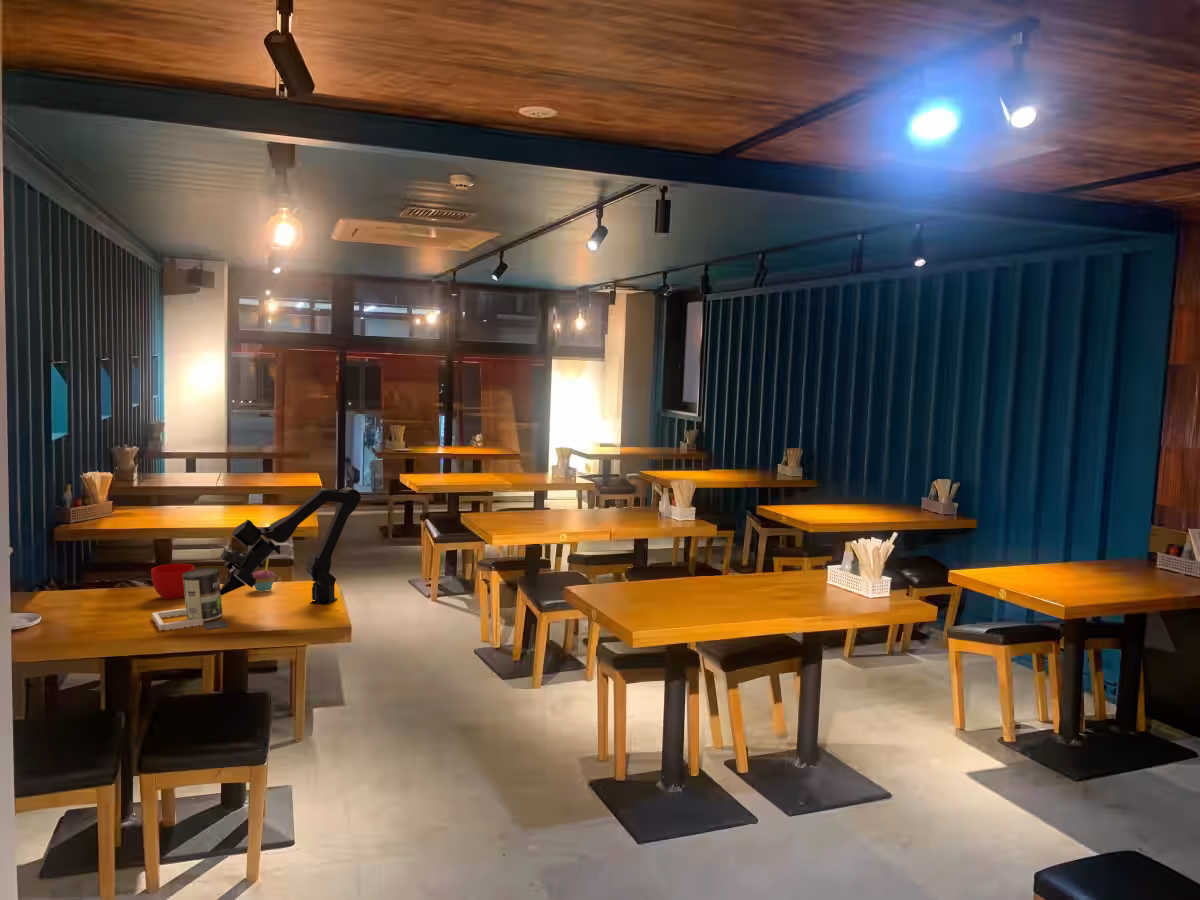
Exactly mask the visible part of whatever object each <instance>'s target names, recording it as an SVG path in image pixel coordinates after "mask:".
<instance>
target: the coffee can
mask: <svg viewBox="0 0 1200 900" xmlns="http://www.w3.org/2000/svg"><path fill="white" fill-rule="evenodd" d="M182 577H183V583H184V593H185V596H184V600H185V602H184V603H185V608H186V613H187V615H186V620H193V619H200V618H203V622H210V621H212V620H213V621H214V620H216V619H219V618H221V617H222V616H223V614H224V613H223V606H222V605H223V604H222V595H221V592H220V590H221V585H220V584H221V583H220V581H221V580H220V569H218V568H210V567H209V568H199V569H194V570H193V571H189V572H186V573H184V574H183V575H182Z"/></svg>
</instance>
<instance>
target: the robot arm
mask: <svg viewBox="0 0 1200 900" xmlns="http://www.w3.org/2000/svg"><path fill="white" fill-rule="evenodd" d="M361 499H362V496H361V493H360V492H359V491H358V490H357V489H355V488H351V487H348V486H347V487H343V488H340V489H335V488H334V489H333V488H320V489H318V490H317V491H316V492H315V493H314V494H313V495H312V496H310V497H309V498H308V499H307V500H306V501H305V502H303V503H302V504H300V505H299V506H298V507H297V508H296V509H295V510H293V511H292V512H291V513H290V514H288V515H287V516H284V517H282V518H279V519H278V520H275V521H273V523H271V524H269V526H266V527H262V528H258V527H257V526H256V525H255V524H254V523H253V522H252V520H250V519H246V520H245V521H244V522H242V523H240V524H239V525H237V526H236V527H235V529H234V530H233V531H232V533H231V536H232V537H233V538H235V539H236V540H237V542H238V541H239V542H240V543H241V544H242V545H243V546H245V547H248V546H250V547H251V548H250V549H249V550H248V551H246V550H245V551H243V552H242V553H241V552H240V551H237V550H235V549H233V550H230V549H227V548H224V549H223V552H222V553H221V556H220V557H219V558H220V559H221V560H222V561H224V562H225V563H224V564H223V565H224V566H225V568H227V569H226V574H227V575H226V579H225V581H224V583H223V584H222V586H221V587H220V592H221V596H224V595H226V594H229V593H230V592H232V591H235V590H237V589H239V588H241V587H245V586H246V585H248V586H249V587H250V588H253V587H255V586H254V585H255V584H256V579H255V578H254V577H253V575H252V574H253V573H254V572H256V571H257V569H258V568H262V567H263V566H264V565H263V563H264V562H266V560H267V559H268V558H269V556H270V555H271V554H272V553H273V552H275V553H276V554H278V555H281V545H280V544H279V543H281V544H282V543H286V541H288V540H289V538H290V537H292V535H293V534H294V533H295V531H296V530H297V528H298V526H299V525H300V524H302V523H303V522H304V521H305V520H306V519H308V518H309V517H310V516H311V515H313V513H315V512H316V511H317V510H318V509H320V507H322V506H324V504H326V503H327V502H330V503H331V502H332V503H335V511H334V513H333V517H332V519H331V521H330V523H329V526H328V528H327V530H326V533H325V535H324V537H323V540H322V541H321V544H320V547H319V549H318V551H317V552H316V553H315V554H311V553H310V554H309V557H308V559H307V562H306V563H305V564H304V565H305V572H306V574H307V576H308V577H310V578H311V580H312V582H313V583H312V587H311V599H312V600H315V601H312V602H318V603H317V604H320V603H325V604H324V605H327V604H326V603H328V604H330V603H329V602H331V603H333V602H335V601H337V600H338V598H337V597H335V595H336V594H335V585H336V581H337V578H336V577H335V576H333V575H332V574H331V572H330V571H331V566H332V556H333V553H334V551H335V549H336V546H337V544H338V542H339V540H340V536H341V535H342V533H343V530H344V527H345V525H346V524H347V520H348V518H349V517H350V515H351V514H352V513H353V512H354V511H355V510H356V508H358V505H359V504H360V502H361ZM262 536H263V537H264V538H266V540H265V539H264V538H262ZM271 540H272V541H271ZM274 542H276V543H277V544H275V543H274ZM228 569H229V570H228ZM334 600H335V601H334ZM332 601H333V602H332Z"/></svg>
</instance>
